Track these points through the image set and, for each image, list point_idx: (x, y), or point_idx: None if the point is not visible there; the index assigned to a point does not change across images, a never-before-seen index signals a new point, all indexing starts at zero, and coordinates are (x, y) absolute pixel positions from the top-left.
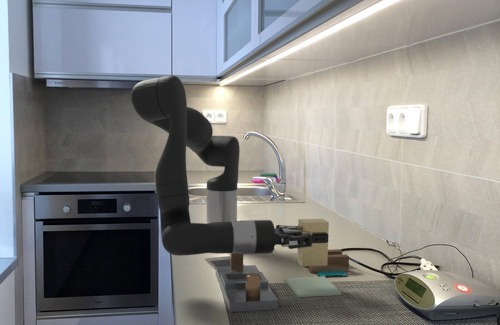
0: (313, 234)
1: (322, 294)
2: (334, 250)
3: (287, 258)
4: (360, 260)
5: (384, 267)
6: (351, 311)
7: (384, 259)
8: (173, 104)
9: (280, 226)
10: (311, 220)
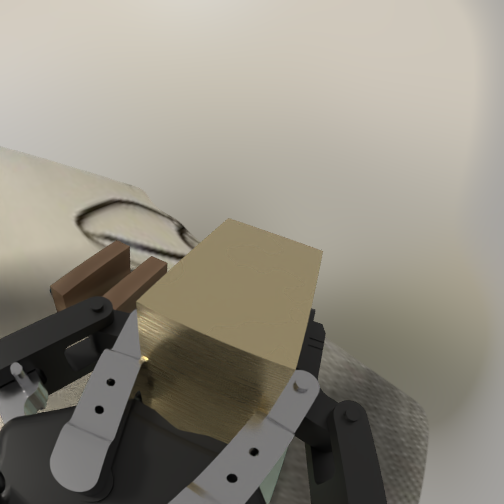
0: (300, 369)
1: (283, 460)
2: (112, 250)
3: (9, 299)
4: (137, 238)
5: (193, 244)
6: (389, 451)
7: (164, 220)
8: None
9: (56, 464)
10: (240, 274)
